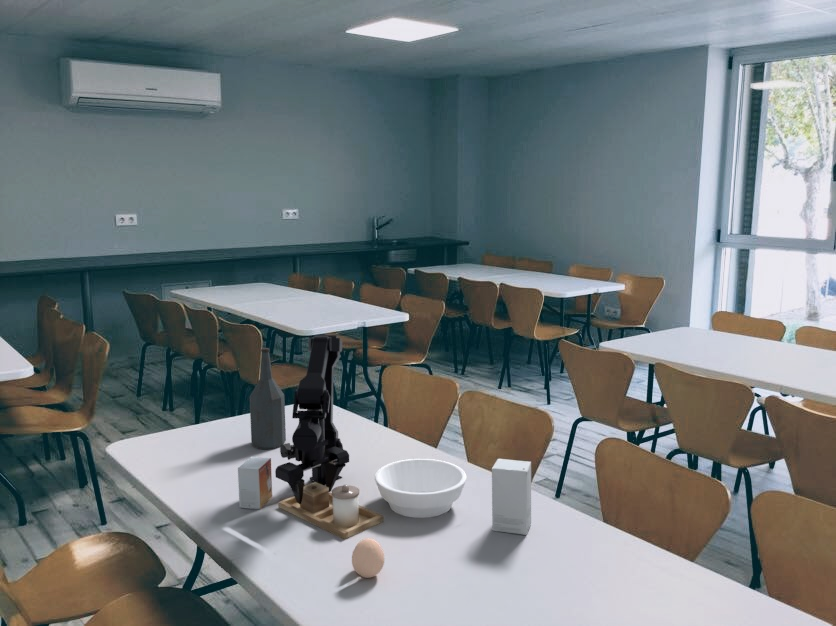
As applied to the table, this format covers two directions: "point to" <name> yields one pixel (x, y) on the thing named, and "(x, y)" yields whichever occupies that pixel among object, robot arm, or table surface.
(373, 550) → the egg
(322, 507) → the beige box
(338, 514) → the sugar jar
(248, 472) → the small box
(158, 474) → the table surface
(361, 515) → the caddy
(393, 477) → the bowl
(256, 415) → the bottle
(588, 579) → the table surface
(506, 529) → the skincare box
